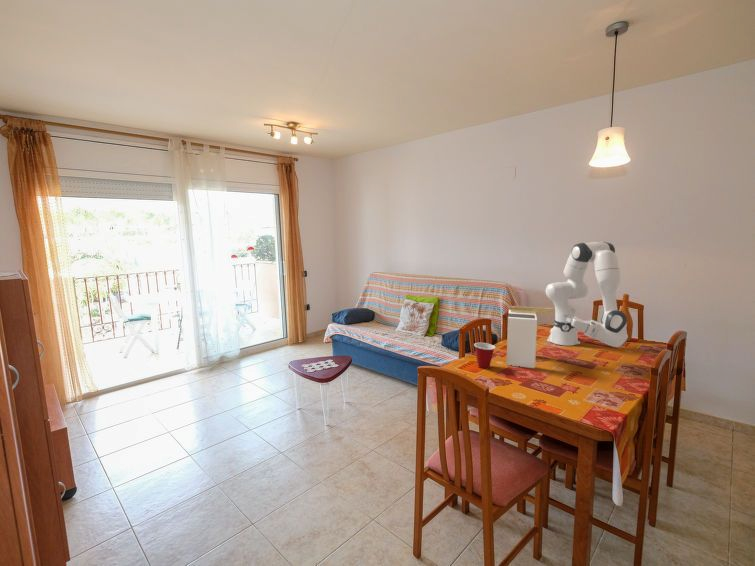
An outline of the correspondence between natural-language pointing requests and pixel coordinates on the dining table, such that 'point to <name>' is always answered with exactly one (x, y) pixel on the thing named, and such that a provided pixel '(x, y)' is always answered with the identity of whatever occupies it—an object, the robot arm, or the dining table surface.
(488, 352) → the plastic cup
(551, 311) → the light wood bar
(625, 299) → the wine bottle
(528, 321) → the white upright block
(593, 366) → the dining table surface
